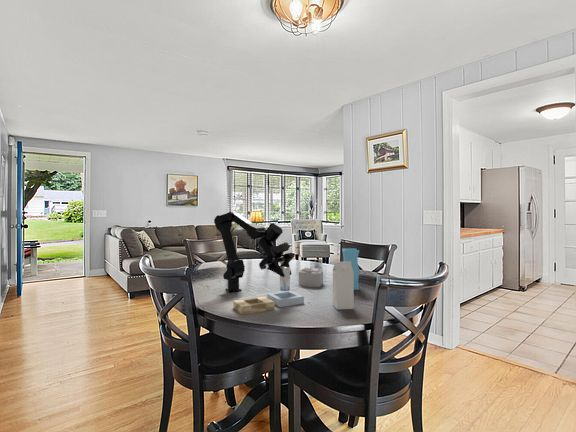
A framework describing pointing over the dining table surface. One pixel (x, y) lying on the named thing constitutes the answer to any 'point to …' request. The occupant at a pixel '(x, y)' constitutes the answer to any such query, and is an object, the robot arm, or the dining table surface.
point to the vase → (352, 263)
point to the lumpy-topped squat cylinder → (311, 277)
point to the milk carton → (343, 285)
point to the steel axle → (285, 279)
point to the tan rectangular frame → (253, 305)
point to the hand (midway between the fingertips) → (287, 275)
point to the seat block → (286, 298)
